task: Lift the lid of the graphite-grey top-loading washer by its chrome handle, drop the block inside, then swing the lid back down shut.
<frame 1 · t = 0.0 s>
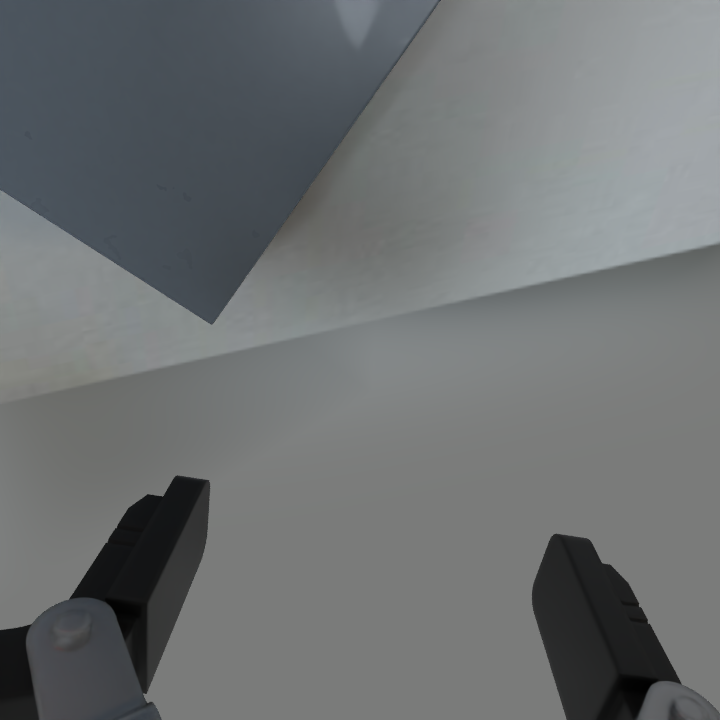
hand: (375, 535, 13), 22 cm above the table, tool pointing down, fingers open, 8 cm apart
washer lid: (131, 7, 16), point 13 cm above the table, hinge at 0.0°
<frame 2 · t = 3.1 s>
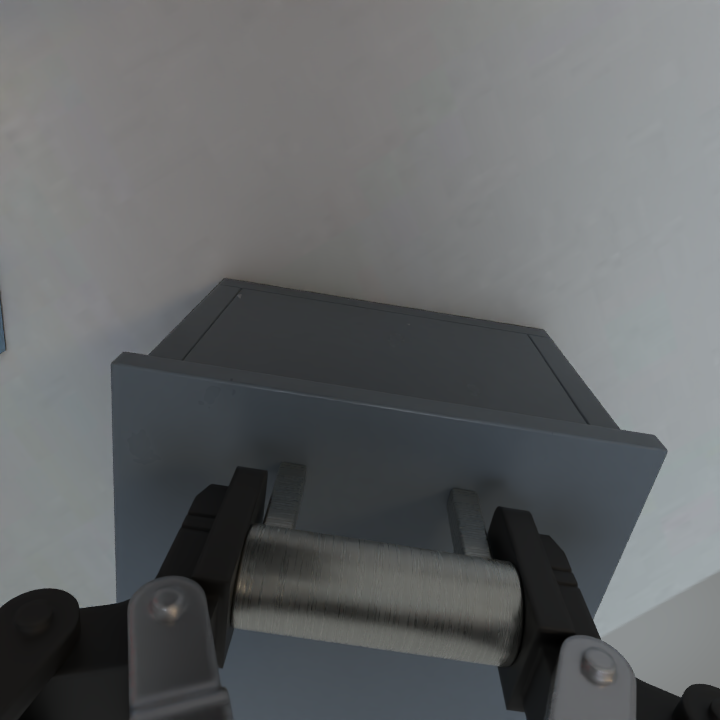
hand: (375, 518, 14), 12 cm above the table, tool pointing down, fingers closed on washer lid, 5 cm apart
washer lid: (337, 718, 16), point 13 cm above the table, hinge at -0.1°, touching gripper
washer: (355, 467, 27), on the table
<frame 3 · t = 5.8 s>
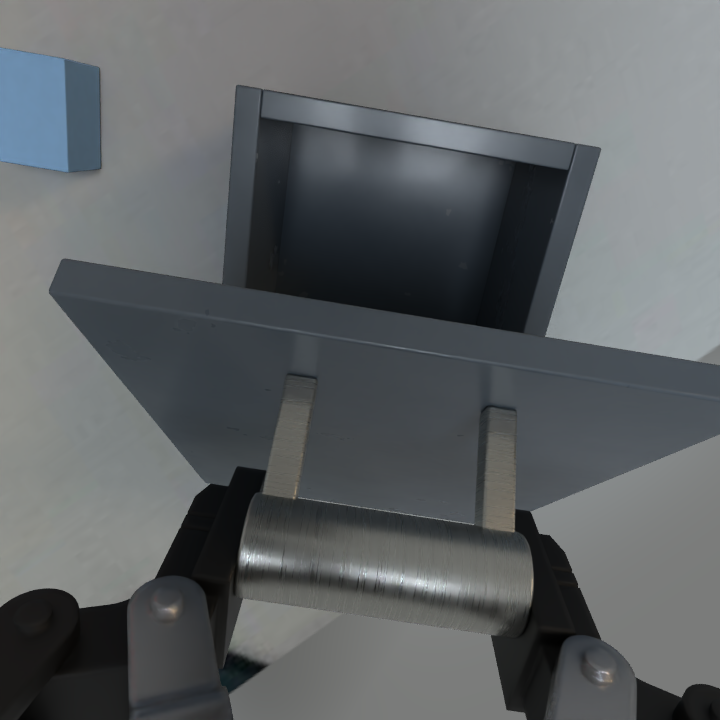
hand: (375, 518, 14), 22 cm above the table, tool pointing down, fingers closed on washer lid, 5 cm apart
block: (58, 112, 31), on the table
washer lid: (362, 520, 18), point 18 cm above the table, hinge at 44.3°, touching gripper
washer: (381, 275, 33), on the table
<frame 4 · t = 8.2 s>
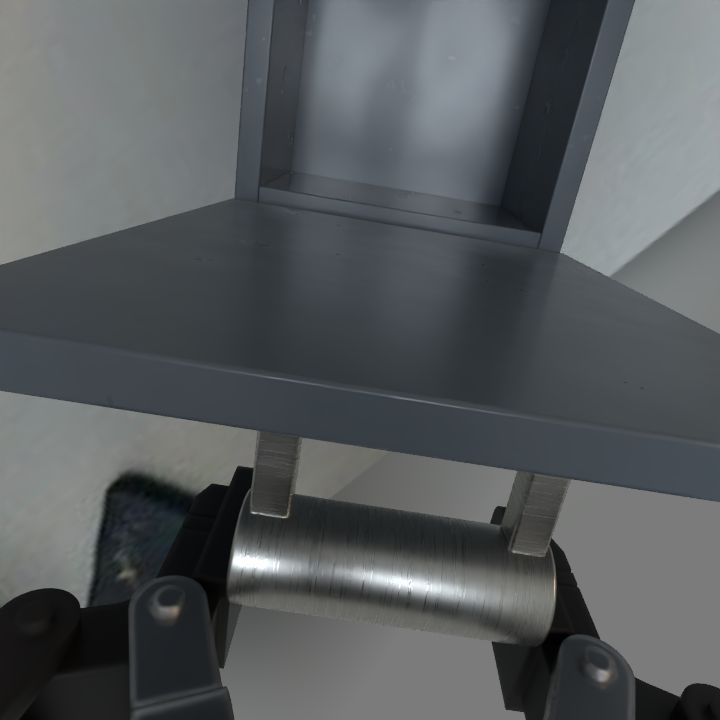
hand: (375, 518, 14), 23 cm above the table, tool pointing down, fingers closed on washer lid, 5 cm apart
washer lid: (394, 358, 16), point 19 cm above the table, hinge at 87.3°, touching gripper
washer: (421, 41, 30), on the table
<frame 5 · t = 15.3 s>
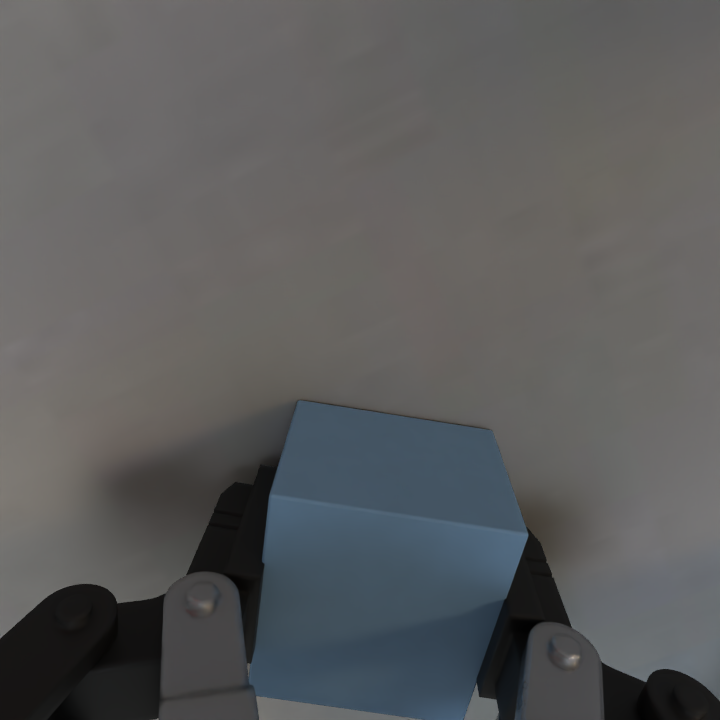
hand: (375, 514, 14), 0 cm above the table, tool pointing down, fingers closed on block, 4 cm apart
block: (377, 503, 14), on the table, touching gripper
when the fingers open (13 cm above the table, at t = 20.9 s): block drops 12 cm, resting on washer.
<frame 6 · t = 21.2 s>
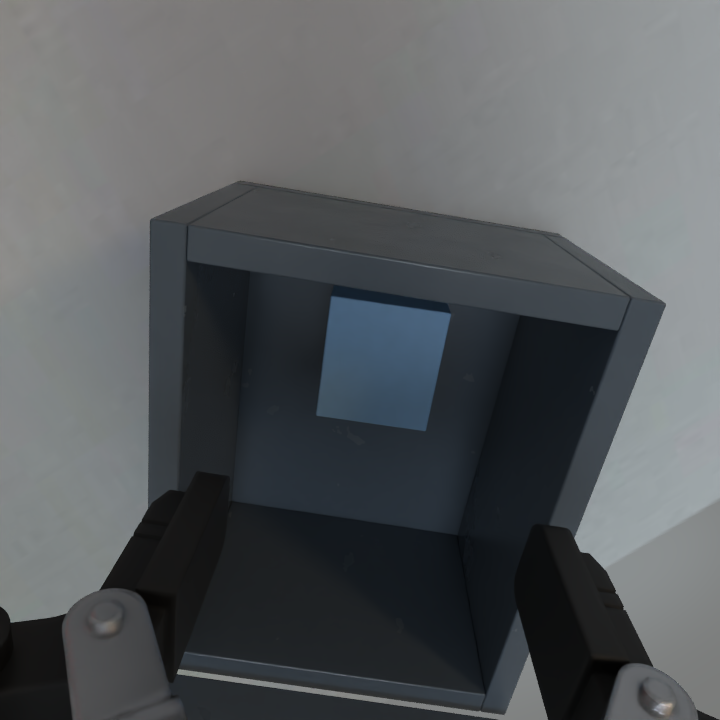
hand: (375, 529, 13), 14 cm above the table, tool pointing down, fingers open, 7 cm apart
block: (380, 334, 25), point 1 cm above the table, touching washer
washer: (368, 383, 27), on the table
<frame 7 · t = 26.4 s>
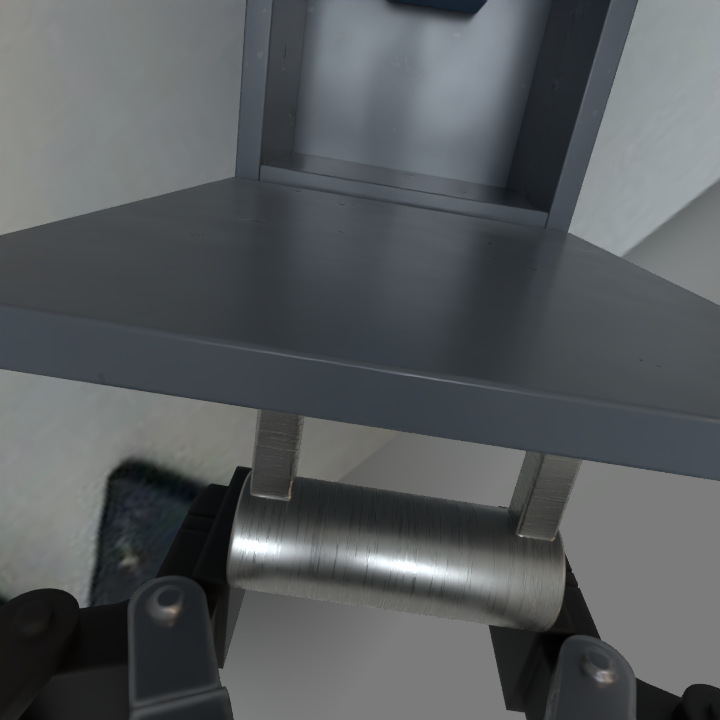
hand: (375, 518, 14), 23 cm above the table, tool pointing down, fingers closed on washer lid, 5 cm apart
washer lid: (398, 339, 15), point 19 cm above the table, hinge at 88.0°, touching gripper
washer: (425, 18, 29), on the table
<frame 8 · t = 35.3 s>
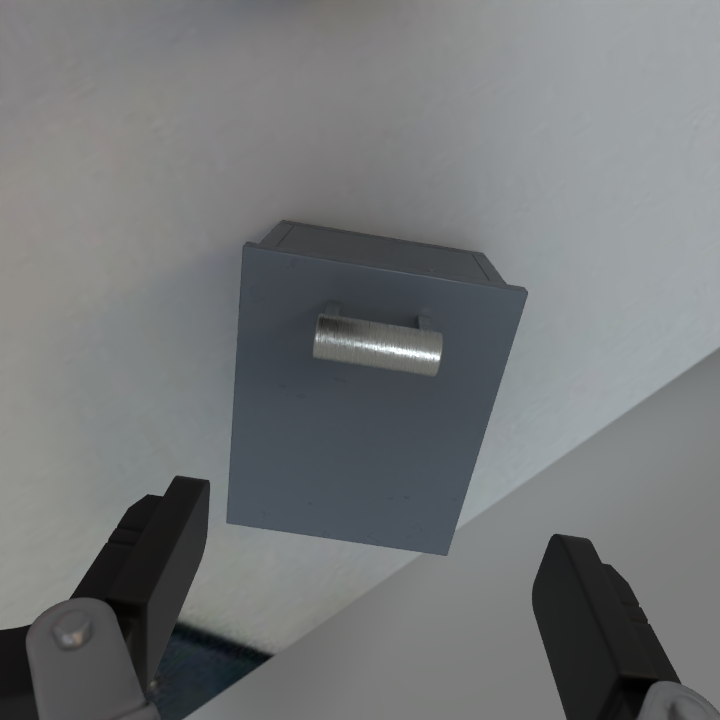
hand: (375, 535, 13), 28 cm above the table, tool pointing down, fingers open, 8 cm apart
washer lid: (357, 442, 29), point 13 cm above the table, hinge at 3.3°
washer: (363, 350, 42), on the table
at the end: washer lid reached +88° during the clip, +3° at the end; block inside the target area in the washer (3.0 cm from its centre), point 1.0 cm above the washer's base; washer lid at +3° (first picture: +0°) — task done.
